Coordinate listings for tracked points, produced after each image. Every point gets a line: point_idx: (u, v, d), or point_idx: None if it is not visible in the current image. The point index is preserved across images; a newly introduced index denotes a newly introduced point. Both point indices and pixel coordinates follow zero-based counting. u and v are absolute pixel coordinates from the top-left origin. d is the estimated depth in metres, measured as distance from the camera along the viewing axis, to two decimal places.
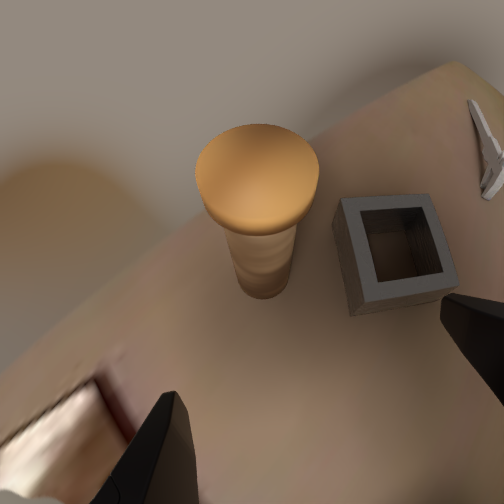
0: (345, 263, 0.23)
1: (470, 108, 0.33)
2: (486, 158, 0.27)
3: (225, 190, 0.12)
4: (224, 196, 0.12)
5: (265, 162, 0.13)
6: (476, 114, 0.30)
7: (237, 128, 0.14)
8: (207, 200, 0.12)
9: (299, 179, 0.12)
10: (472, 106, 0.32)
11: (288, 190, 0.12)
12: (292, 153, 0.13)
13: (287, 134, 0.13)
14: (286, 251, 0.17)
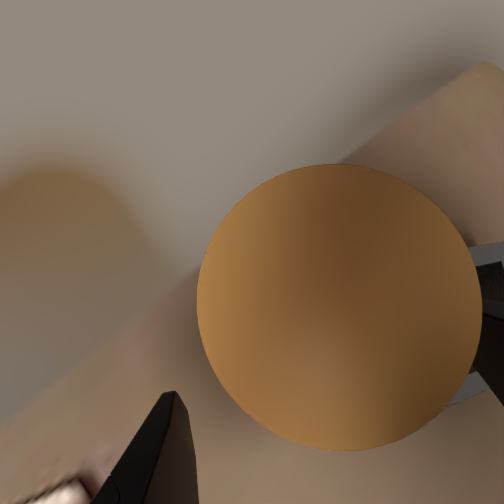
0: None
1: None
2: None
3: (283, 376, 0.04)
4: (282, 394, 0.04)
5: (377, 282, 0.05)
6: None
7: (294, 174, 0.06)
8: (236, 401, 0.04)
9: (451, 328, 0.04)
10: None
11: (433, 363, 0.04)
12: (429, 252, 0.05)
13: (409, 197, 0.06)
14: None
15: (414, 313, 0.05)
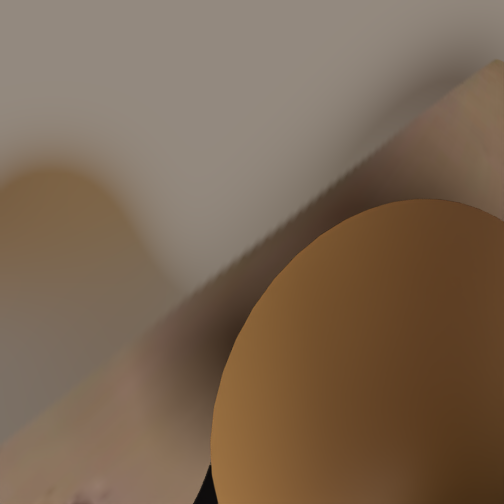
0: None
1: None
2: None
3: None
4: None
5: (490, 401, 0.02)
6: None
7: (372, 217, 0.03)
8: None
9: None
10: None
11: None
12: None
13: None
14: None
15: None
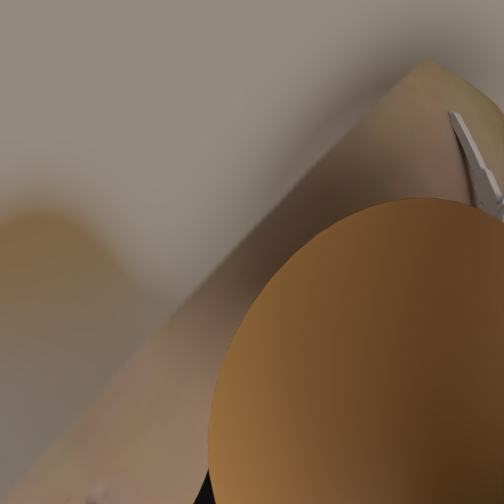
0: None
1: (452, 123, 0.30)
2: (480, 198, 0.23)
3: None
4: None
5: (488, 400, 0.02)
6: (462, 133, 0.27)
7: (369, 216, 0.03)
8: None
9: None
10: (456, 122, 0.29)
11: None
12: None
13: None
14: None
15: None
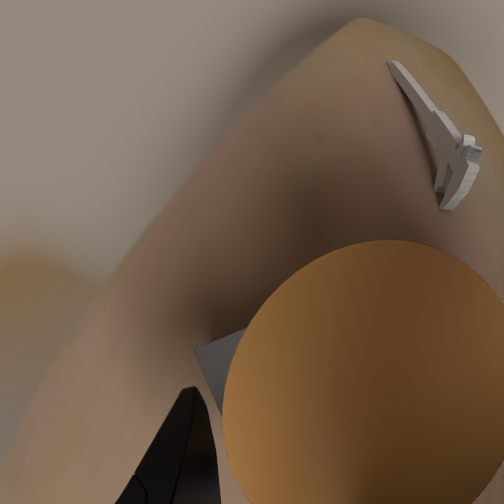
0: None
1: (392, 72, 0.27)
2: (435, 146, 0.20)
3: (320, 499, 0.03)
4: None
5: (425, 390, 0.04)
6: (404, 79, 0.24)
7: (336, 256, 0.05)
8: None
9: (492, 426, 0.03)
10: (396, 70, 0.26)
11: (470, 464, 0.03)
12: (480, 347, 0.04)
13: (463, 279, 0.04)
14: None
15: (459, 419, 0.03)
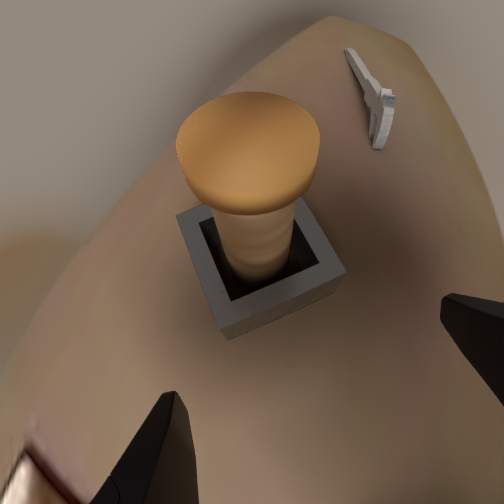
0: None
1: (347, 57, 0.34)
2: (368, 104, 0.27)
3: (209, 161, 0.10)
4: (208, 167, 0.10)
5: (257, 130, 0.11)
6: (353, 60, 0.31)
7: (225, 96, 0.12)
8: (188, 173, 0.10)
9: (297, 147, 0.10)
10: (348, 55, 0.33)
11: (284, 159, 0.10)
12: (288, 120, 0.11)
13: (282, 101, 0.11)
14: (283, 238, 0.15)
15: (275, 141, 0.10)
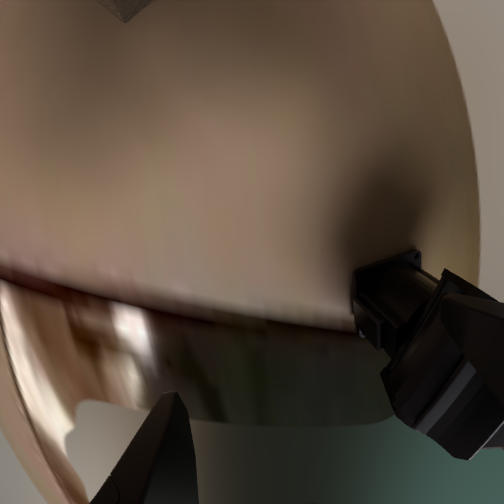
0: None
1: None
2: None
3: None
4: None
5: None
6: None
7: None
8: None
9: None
10: None
11: None
12: None
13: None
14: None
15: None
